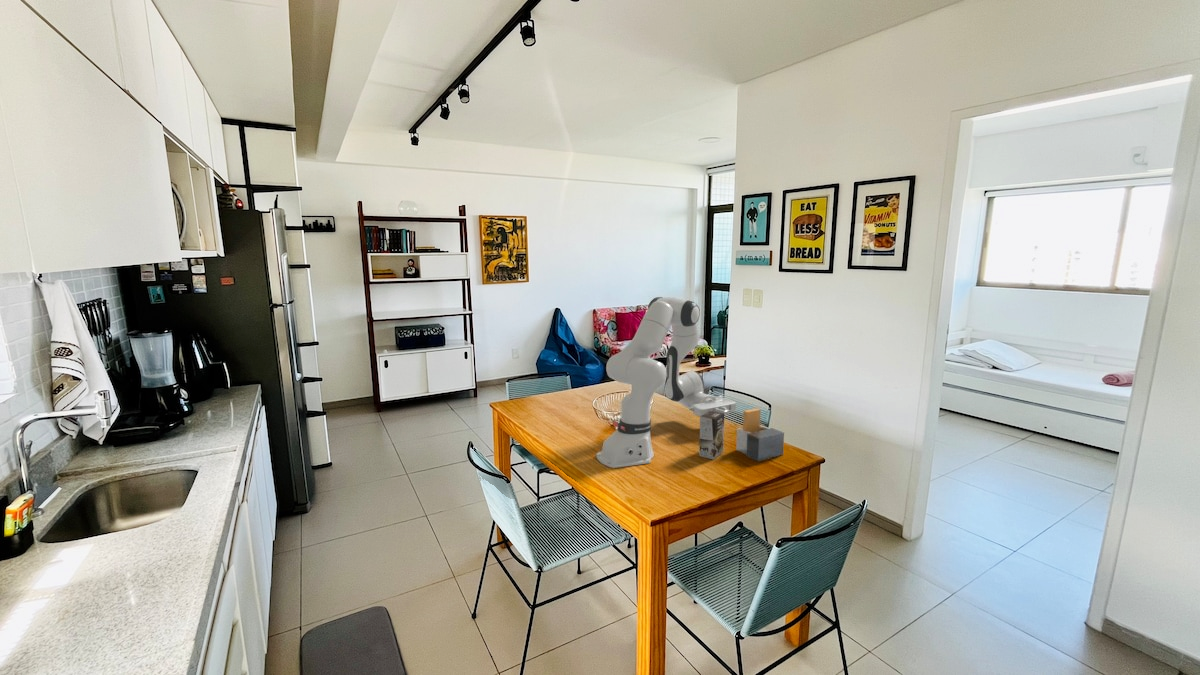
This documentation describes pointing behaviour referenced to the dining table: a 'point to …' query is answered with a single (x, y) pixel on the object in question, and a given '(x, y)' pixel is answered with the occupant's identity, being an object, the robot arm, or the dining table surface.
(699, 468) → the dining table surface
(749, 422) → the breaker paddle
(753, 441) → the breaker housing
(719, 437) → the coffee box
